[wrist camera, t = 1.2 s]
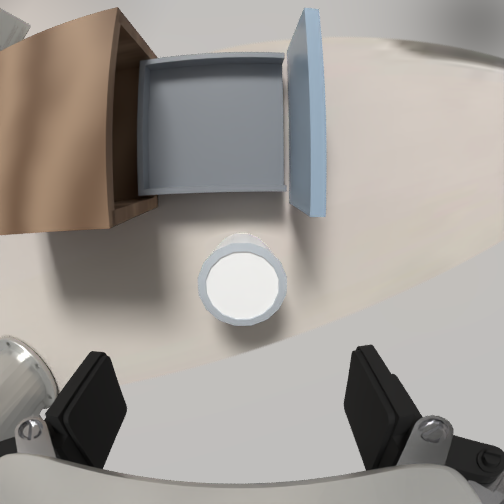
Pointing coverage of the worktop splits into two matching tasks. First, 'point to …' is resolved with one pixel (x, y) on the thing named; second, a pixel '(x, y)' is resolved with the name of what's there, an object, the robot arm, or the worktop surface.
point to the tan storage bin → (71, 127)
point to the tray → (235, 122)
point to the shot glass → (242, 281)
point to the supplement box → (11, 29)
